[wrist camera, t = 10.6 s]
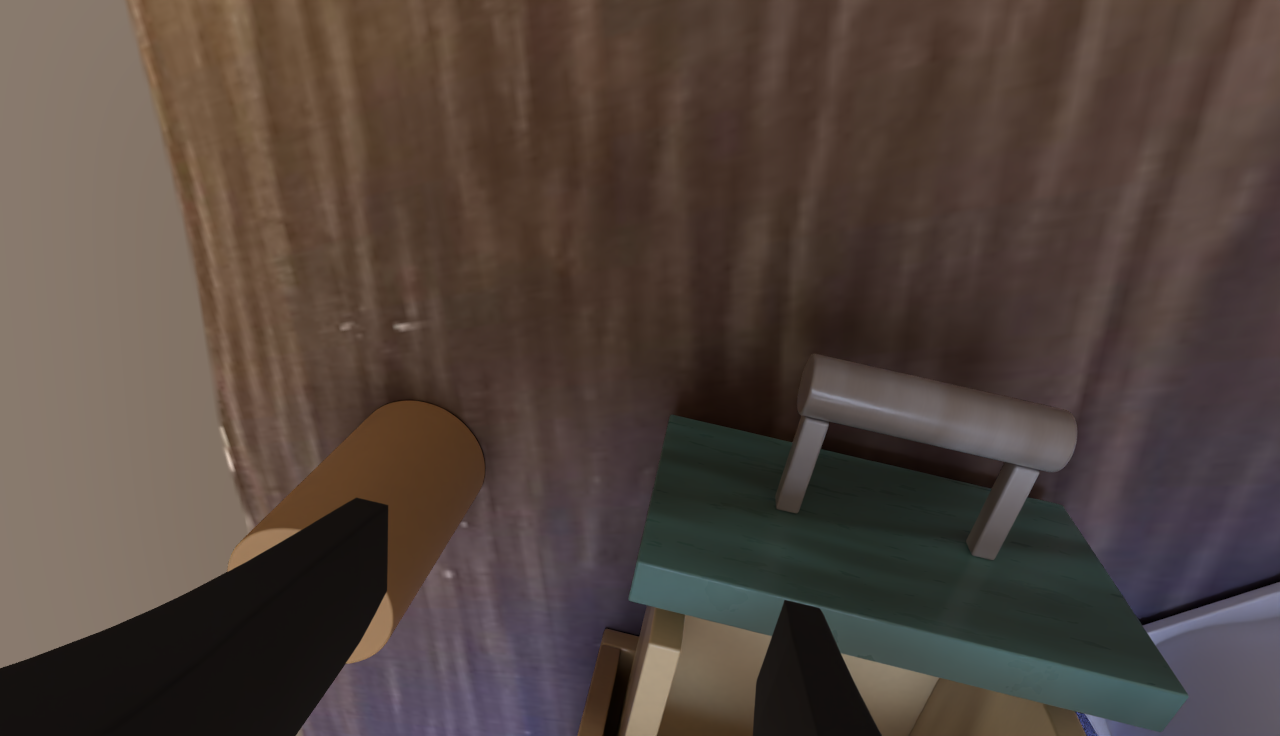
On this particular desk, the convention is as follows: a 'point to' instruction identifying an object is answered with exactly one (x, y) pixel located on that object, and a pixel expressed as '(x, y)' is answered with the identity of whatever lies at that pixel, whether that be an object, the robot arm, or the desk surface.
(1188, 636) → the robot arm
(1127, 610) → the drawer
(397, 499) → the paper roll
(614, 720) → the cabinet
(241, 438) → the desk surface
